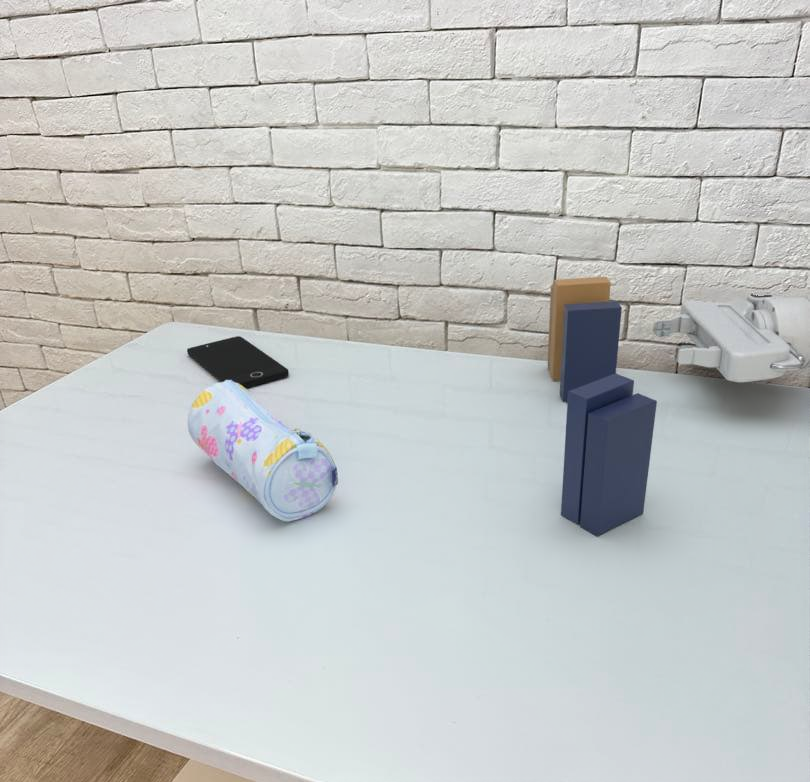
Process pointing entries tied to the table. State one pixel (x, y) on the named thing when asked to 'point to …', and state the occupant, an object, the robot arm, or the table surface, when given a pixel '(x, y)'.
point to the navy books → (606, 454)
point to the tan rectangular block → (561, 295)
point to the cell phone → (237, 362)
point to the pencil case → (262, 451)
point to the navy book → (589, 344)
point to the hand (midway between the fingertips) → (665, 341)
